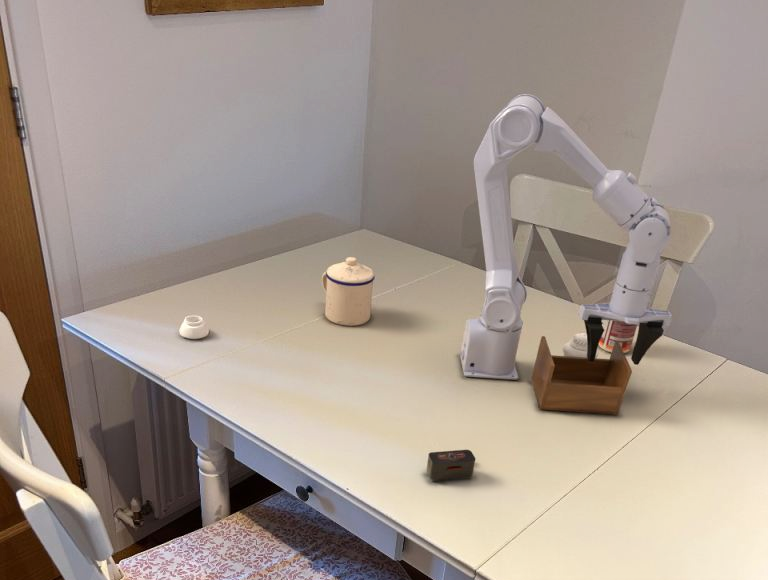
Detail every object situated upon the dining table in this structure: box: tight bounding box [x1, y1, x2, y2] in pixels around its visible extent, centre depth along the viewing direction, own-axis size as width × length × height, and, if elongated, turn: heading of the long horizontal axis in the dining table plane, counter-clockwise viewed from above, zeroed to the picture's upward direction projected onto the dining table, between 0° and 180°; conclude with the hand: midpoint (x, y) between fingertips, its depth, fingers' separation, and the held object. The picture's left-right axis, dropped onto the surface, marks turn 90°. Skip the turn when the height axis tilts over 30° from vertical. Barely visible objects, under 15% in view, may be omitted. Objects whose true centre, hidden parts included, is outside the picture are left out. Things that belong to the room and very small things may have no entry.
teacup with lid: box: [321, 256, 376, 327], centre depth 148 cm, size 12×9×12 cm
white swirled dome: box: [562, 332, 599, 358], centre depth 139 cm, size 6×6×7 cm
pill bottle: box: [598, 320, 638, 354], centre depth 147 cm, size 6×6×11 cm
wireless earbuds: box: [425, 449, 476, 482], centre depth 111 cm, size 5×7×3 cm, turn 105°
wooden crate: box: [531, 335, 633, 415], centre depth 129 cm, size 9×13×8 cm
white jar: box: [179, 315, 210, 340], centre depth 138 cm, size 5×3×5 cm
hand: (612, 360), depth 132 cm, fingers open, 7 cm apart
